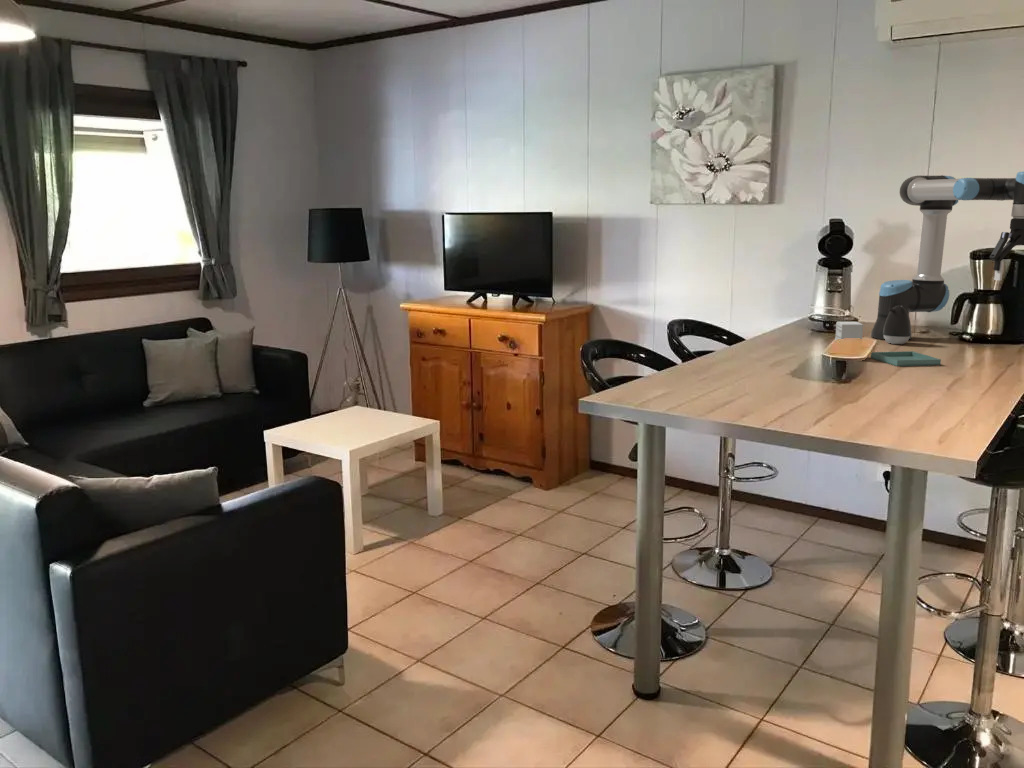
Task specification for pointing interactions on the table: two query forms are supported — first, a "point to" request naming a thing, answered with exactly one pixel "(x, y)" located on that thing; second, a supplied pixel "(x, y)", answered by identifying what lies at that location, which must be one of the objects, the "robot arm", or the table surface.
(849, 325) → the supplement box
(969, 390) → the table surface
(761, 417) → the table surface
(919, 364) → the tray
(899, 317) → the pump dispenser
